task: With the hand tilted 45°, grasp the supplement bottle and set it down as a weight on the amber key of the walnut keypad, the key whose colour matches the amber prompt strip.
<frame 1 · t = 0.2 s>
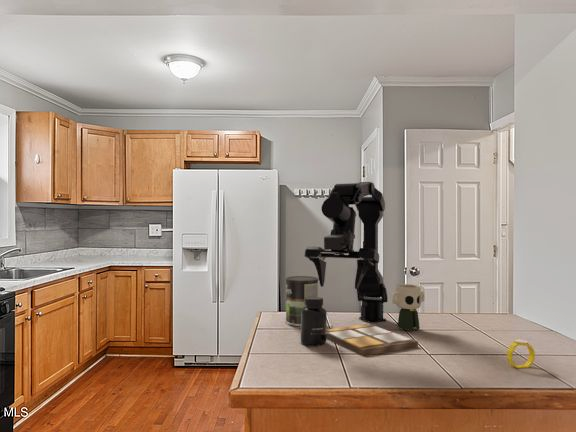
hand: (338, 287, 116), 15 cm above the counter, tool tilted 15°, fingers open, 9 cm apart
coffee can: (302, 323, 143), on the counter
keypad: (367, 341, 121), on the counter
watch: (520, 368, 100), on the counter
supplement bottle: (313, 343, 120), on the counter
character mug: (408, 330, 134), on the counter
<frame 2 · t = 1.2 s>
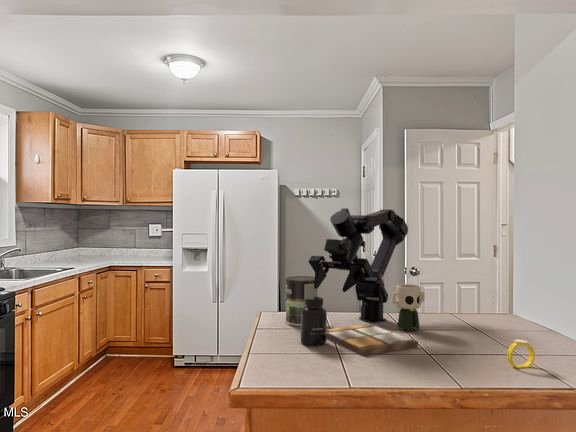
hand: (328, 289, 126), 13 cm above the counter, tool tilted 45°, fingers open, 9 cm apart
nothing on the counter moved.
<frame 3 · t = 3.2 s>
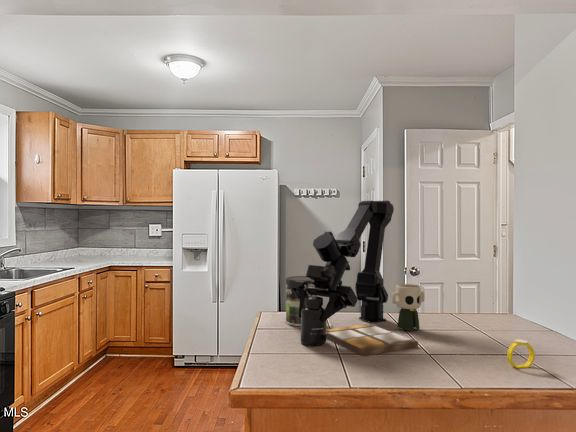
hand: (310, 318, 119), 7 cm above the counter, tool tilted 45°, fingers closed on supplement bottle, 7 cm apart
supplement bottle: (313, 343, 120), on the counter, touching gripper
everything else where it was.
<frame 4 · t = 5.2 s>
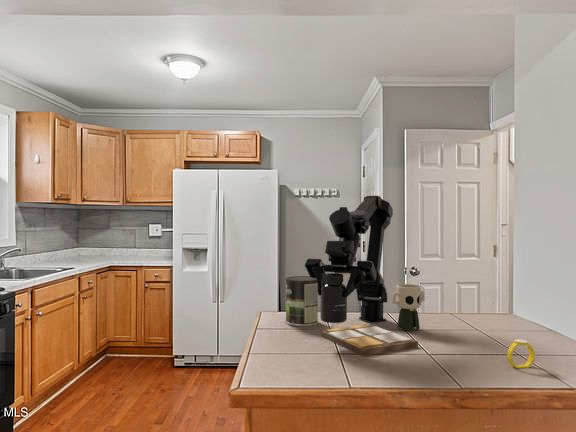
hand: (331, 295, 116), 13 cm above the counter, tool tilted 45°, fingers closed on supplement bottle, 7 cm apart
supplement bottle: (333, 321, 117), point 6 cm above the counter, touching gripper
everything else where it was.
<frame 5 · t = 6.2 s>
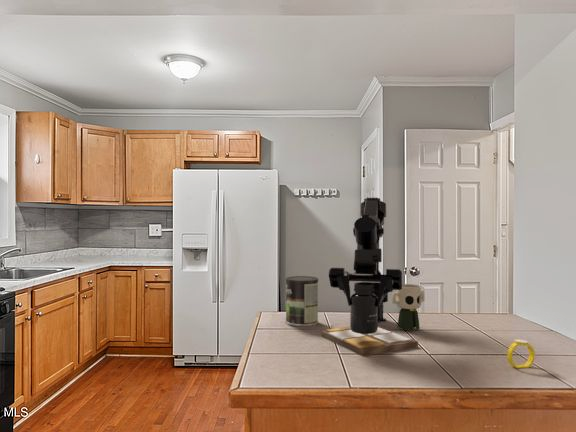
hand: (363, 305, 113), 11 cm above the counter, tool tilted 45°, fingers closed on supplement bottle, 7 cm apart
supplement bottle: (364, 331, 115), point 4 cm above the counter, touching gripper
everything else where it was.
when the fingers open (10 cm above the counter, at t = 7.0 s): supplement bottle drops 1 cm, resting on keypad.
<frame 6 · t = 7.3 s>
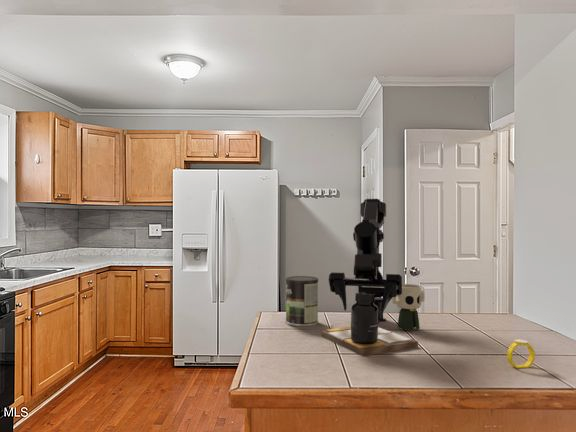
hand: (363, 310, 113), 10 cm above the counter, tool tilted 45°, fingers open, 9 cm apart
supplement bottle: (364, 341, 115), point 2 cm above the counter, touching keypad
everything else where it was.
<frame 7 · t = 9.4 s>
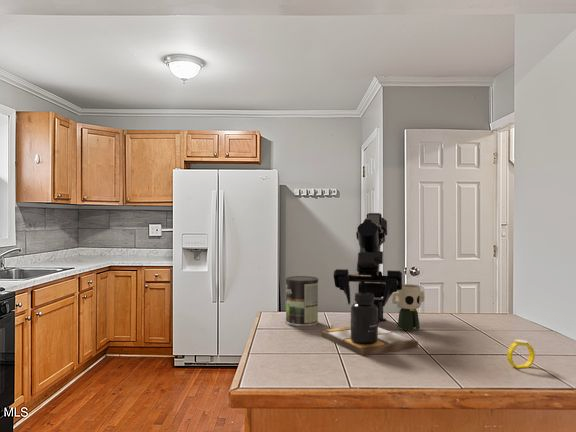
hand: (366, 304, 122), 10 cm above the counter, tool tilted 45°, fingers open, 9 cm apart
nothing on the counter moved.
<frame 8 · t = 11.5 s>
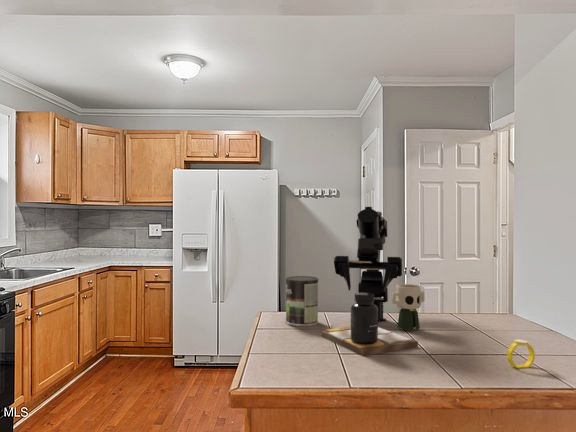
hand: (366, 290, 122), 14 cm above the counter, tool tilted 45°, fingers open, 9 cm apart
nothing on the counter moved.
at the end: supplement bottle 0.2 cm from the target spot, point 1.7 cm above the counter; supplement bottle tilted 0°; the gripper is holding nothing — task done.
